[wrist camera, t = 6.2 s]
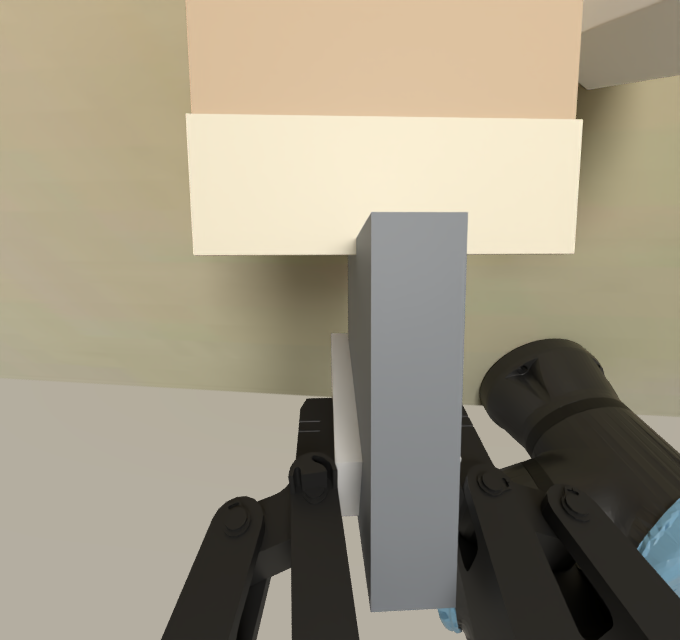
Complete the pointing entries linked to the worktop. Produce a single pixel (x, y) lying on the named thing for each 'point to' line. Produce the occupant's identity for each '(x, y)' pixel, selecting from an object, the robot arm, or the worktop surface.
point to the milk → (628, 41)
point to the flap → (390, 207)
